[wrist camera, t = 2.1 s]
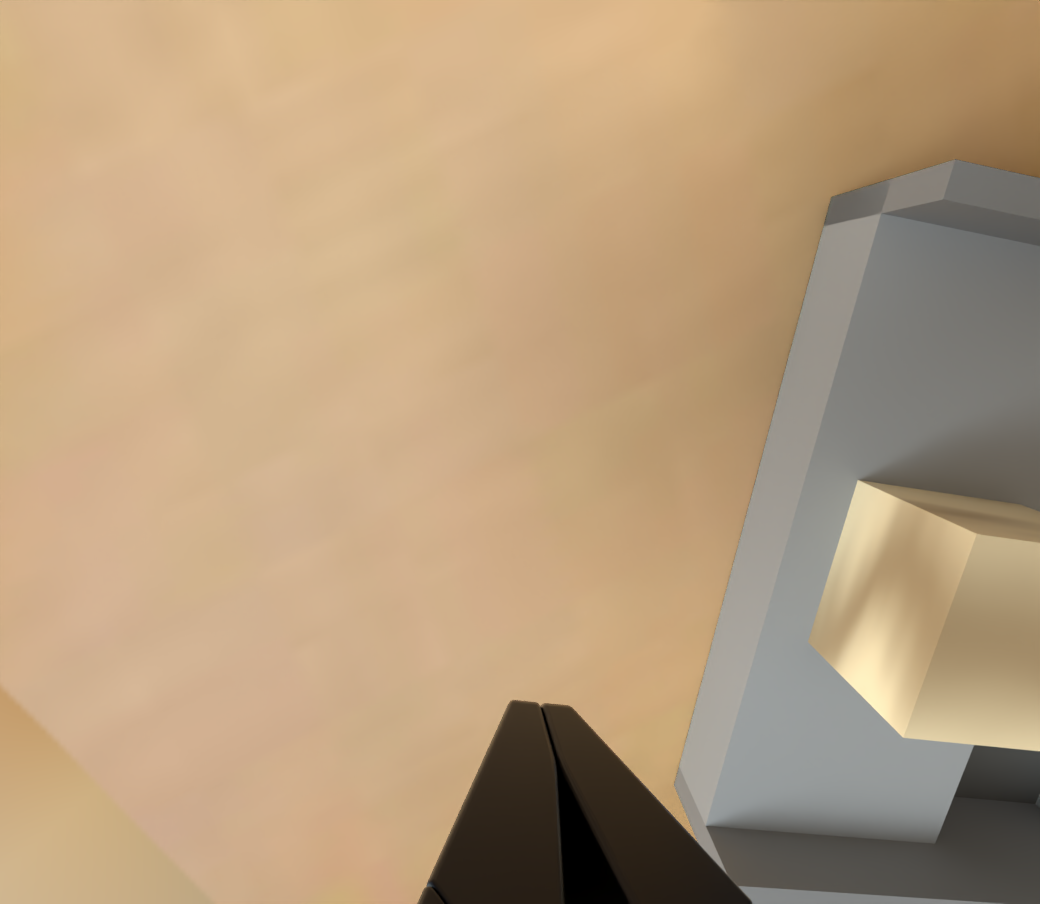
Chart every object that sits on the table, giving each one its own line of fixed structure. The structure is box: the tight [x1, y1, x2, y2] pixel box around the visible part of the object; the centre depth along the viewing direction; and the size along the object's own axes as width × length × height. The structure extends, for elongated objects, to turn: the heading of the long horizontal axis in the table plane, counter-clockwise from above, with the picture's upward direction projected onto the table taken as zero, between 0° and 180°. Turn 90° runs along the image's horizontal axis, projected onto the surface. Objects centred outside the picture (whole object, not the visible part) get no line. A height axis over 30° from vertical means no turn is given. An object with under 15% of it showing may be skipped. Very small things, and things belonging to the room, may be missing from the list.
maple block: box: [808, 480, 1040, 751], centre depth 15 cm, size 5×5×4 cm
